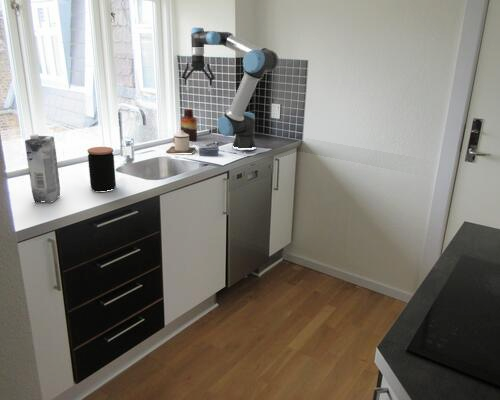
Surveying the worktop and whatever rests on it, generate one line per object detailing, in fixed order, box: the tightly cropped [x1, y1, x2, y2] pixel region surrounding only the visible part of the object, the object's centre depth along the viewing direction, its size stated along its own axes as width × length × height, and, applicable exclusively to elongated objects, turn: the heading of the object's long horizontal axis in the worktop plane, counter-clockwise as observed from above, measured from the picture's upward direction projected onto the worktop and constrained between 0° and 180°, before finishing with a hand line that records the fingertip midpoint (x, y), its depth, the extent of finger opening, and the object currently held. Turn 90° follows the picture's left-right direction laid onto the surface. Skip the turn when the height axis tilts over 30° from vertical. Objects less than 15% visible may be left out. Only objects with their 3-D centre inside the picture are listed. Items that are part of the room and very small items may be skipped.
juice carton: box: [24, 133, 61, 203], centre depth 176 cm, size 9×10×27 cm
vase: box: [180, 108, 198, 142], centre depth 291 cm, size 11×11×20 cm
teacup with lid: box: [172, 130, 190, 151], centre depth 262 cm, size 12×9×12 cm
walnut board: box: [166, 145, 196, 154], centre depth 264 cm, size 15×14×1 cm
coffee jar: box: [87, 146, 117, 192], centre depth 192 cm, size 11×11×18 cm
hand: (198, 90), depth 273 cm, fingers open, 13 cm apart
